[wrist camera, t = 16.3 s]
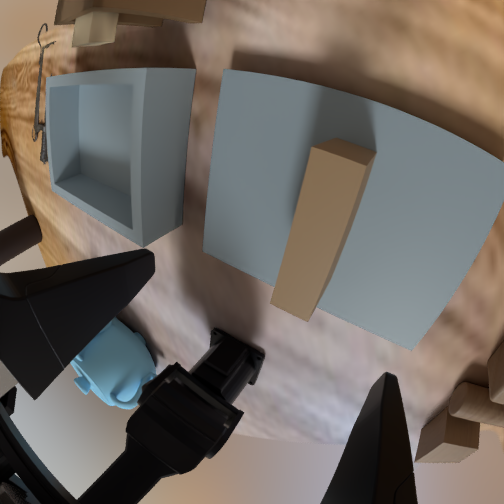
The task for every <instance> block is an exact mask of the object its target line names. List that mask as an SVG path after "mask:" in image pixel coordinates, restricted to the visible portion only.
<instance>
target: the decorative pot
mask: <svg viewBox="0 0 504 504" xmlns="http://www.w3.org/2000/svg"><path fill="white" fill-rule="evenodd" d="M145 344H146V341H145V339H144V338H143V337H142V336H141V335H140V334H139V333H137V332H135V333H133V332H132V331H131V330H130V329H129V328H128V327H126V326H125V325H124V324H123V323H122V322H120V321H119V320H118V319H117V318H116V317H115V318H114V319H112V320H111V321H110V322H109V323H108V324H107V325H106V326H105V327H104V328H103V329H102V330H101V331H100V332H99V333H98V334H97V335H96V336H95V337H94V338H93V340H92V341H91V342H90V343H89V344H88V345H87V346H86V347H85V348H84V349H83V350H82V351H81V352H80V353H79V354H78V355H77V356H76V357H75V358H74V359H73V360H72V361H71V362H70V363H71V365H72V366H73V368H74V369H75V371H76V372H77V374H78V375H79V376H80V377H78V378H75V379H74V382H75V384H76V385H77V386H78V387H79V388H80V390H81V391H82V392H83V393H84V394H86V395H87V393H88V392H89V390H90V389H91V390H92V391H93V392H94V393H95V394H96V395H97V396H98V397H99V398H100V399H101V400H102V401H104V402H105V403H106V404H108V405H109V406H114V405H116V406H118V407H120V408H123V409H132V408H134V407H136V406H137V405H138V404H137V401H138V399H139V398H140V395H141V394H142V390H141V387H142V386H143V385H144V384H145V383H147V382H148V381H150V380H151V379H153V378H154V377H156V376H157V375H156V370H155V366H154V363H153V360H152V357H151V355H150V353H149V351H148V349H147V348H146V346H145Z"/></svg>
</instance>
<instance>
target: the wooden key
mask: <svg viewBox="0 0 504 504" xmlns="http://www.w3.org/2000/svg"><path fill="white" fill-rule="evenodd" d="M118 16H119V13H113V12H90V13H87V14H85V15H83V16H80V17H78V18H76V21H75V27H74V34H73V41H72V47H84V46H98V45H102V44H107V43H113V42H114V41H115V34H116V28H117V22H118Z"/></svg>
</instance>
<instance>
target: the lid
mask: <svg viewBox="0 0 504 504" xmlns="http://www.w3.org/2000/svg"><path fill="white" fill-rule="evenodd" d="M503 201H504V162H502V161H501V160H499V159H498V158H496V157H494V156H493V155H491V154H489V153H488V152H486V151H484V150H482V149H481V148H479V147H477V146H475V145H474V144H472V143H470V142H468V141H466V140H464V139H462V138H460V137H458V136H456V135H454V134H452V133H450V132H448V131H446V130H444V129H442V128H440V127H438V126H436V125H434V124H431V123H429V122H427V121H425V120H422V119H420V118H417V117H415V116H413V115H410V114H408V113H405V112H403V111H400V110H398V109H395V108H392V107H389V106H387V105H384V104H381V103H378V102H375V101H372V100H369V99H366V98H363V97H360V96H357V95H353V94H350V93H347V92H343V91H340V90H336V89H332V88H329V87H325V86H321V85H317V84H312V83H308V82H303V81H299V80H294V79H289V78H284V77H279V76H273V75H267V74H261V73H254V72H247V71H239V70H230V69H224V70H223V76H222V83H221V89H220V96H219V103H218V110H217V117H216V124H215V132H214V140H213V148H212V156H211V165H210V174H209V183H208V193H207V203H206V214H205V225H204V237H203V250H202V251H203V252H205V253H207V254H209V255H211V256H213V257H215V258H217V259H219V260H221V261H223V262H225V263H227V264H229V265H231V266H233V267H235V268H237V269H239V270H241V271H243V272H245V273H247V274H249V275H251V276H253V277H255V278H257V279H259V280H261V281H263V282H265V283H267V284H269V285H271V286H273V287H275V288H274V291H273V295H272V298H271V302H270V304H272V305H274V306H276V307H278V308H280V309H282V310H284V311H286V312H288V313H290V314H292V315H294V316H296V317H298V318H300V319H302V320H305V321H307V322H308V321H309V319H310V317H311V315H312V314H313V312H314V310H315V308H316V307H317V308H319V309H321V310H324V311H326V312H328V313H330V314H332V315H334V316H336V317H339V318H341V319H343V320H345V321H347V322H349V323H351V324H354V325H356V326H358V327H360V328H362V329H364V330H367V331H369V332H371V333H373V334H375V335H377V336H380V337H382V338H384V339H386V340H388V341H391V342H393V343H395V344H397V345H399V346H402V347H404V348H406V349H408V350H411V351H412V350H413V349H414V347H415V346H416V345H417V344H418V342H419V341H420V340H421V339H422V337H423V336H424V335H425V334H426V332H427V331H428V330H429V328H430V327H431V326H432V324H433V323H434V322H435V320H436V319H437V317H438V316H439V315H440V313H441V312H442V310H443V309H444V308H445V306H446V305H447V303H448V302H449V300H450V299H451V297H452V296H453V294H454V293H455V291H456V290H457V288H458V287H459V285H460V283H461V282H462V280H463V279H464V277H465V275H466V274H467V272H468V270H469V269H470V267H471V265H472V263H473V262H474V260H475V258H476V256H477V255H478V253H479V251H480V249H481V247H482V245H483V243H484V242H485V240H486V238H487V236H488V234H489V232H490V230H491V228H492V226H493V224H494V221H495V219H496V217H497V215H498V213H499V211H500V208H501V206H502V204H503Z"/></svg>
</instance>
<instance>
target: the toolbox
mask: <svg viewBox="0 0 504 504" xmlns="http://www.w3.org/2000/svg"><path fill="white" fill-rule="evenodd" d="M205 4H206V0H59V1H58V5H57V10H56V16H55V22H54V25H67V24H75V21H76V18H78V17H80V16H83V15H85V14H87V13H90V12H113V13H119V16H118V22H117V25H133V26H144V27H159V26H162V23H163V18H164V19H170V20H175V21H180V22H185V23H202V19H203V14H204V9H205ZM195 74H196V69H185V68H125V69H109V70H97V71H87V72H79V73H71V74H65V75H58V76H52V77H47V78H46V135H47V150H48V162H49V171H50V179H51V187H52V191H53V192H55V193H56V194H58V195H59V196H61V197H62V198H64V199H66V200H67V201H69V202H70V203H72V204H73V205H75V206H76V207H78V208H79V209H81V210H82V211H84V212H86V213H87V214H89V215H90V216H92V217H93V218H95V219H97V220H98V221H100V222H101V223H103V224H105V225H106V226H108V227H109V228H111V229H113V230H114V231H116V232H118V233H119V234H121V235H123V236H124V237H126V238H127V239H129V240H131V241H132V242H134V243H136V244H137V245H139V246H141V247H143V248H144V247H145V246H147V245H149V244H150V243H152V242H154V241H155V240H157V239H159V238H160V237H162V236H164V235H165V234H167V233H169V232H170V231H172V230H174V229H176V228H177V227H179V226H181V225H182V219H183V198H184V182H185V168H186V155H187V144H188V133H189V123H190V114H191V105H192V97H193V89H194V82H195Z"/></svg>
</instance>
